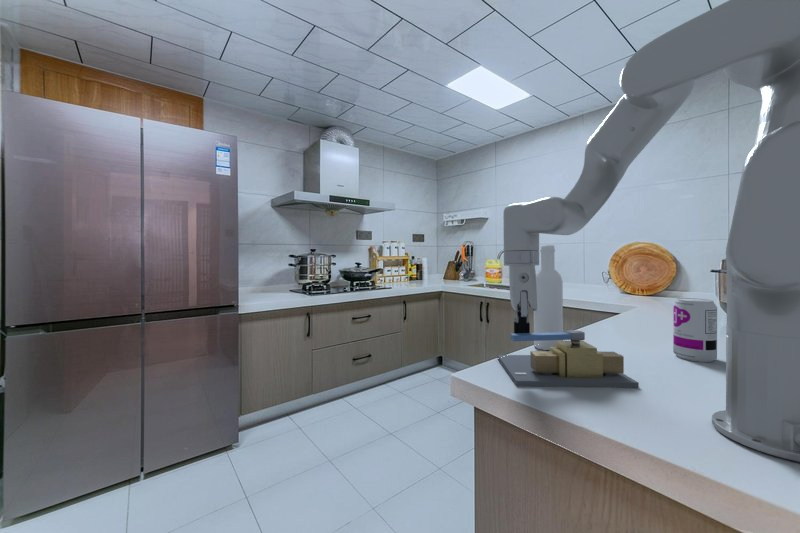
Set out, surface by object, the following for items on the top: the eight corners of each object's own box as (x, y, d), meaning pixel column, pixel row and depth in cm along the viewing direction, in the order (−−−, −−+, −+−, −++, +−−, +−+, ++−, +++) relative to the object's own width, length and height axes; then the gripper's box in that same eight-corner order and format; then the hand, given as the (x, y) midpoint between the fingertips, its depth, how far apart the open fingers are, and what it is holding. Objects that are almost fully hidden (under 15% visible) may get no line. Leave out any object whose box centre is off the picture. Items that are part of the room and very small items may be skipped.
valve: (627, 383, 66) (627, 343, 66) (537, 382, 68) (537, 343, 68) (610, 373, 72) (610, 336, 72) (529, 372, 74) (528, 336, 74)
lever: (578, 336, 72) (578, 330, 72) (588, 340, 68) (588, 333, 68) (509, 338, 71) (509, 331, 71) (515, 342, 68) (515, 335, 68)
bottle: (560, 344, 96) (560, 245, 96) (566, 352, 89) (565, 244, 88) (532, 343, 99) (531, 246, 98) (535, 350, 91) (534, 245, 90)
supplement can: (684, 361, 79) (684, 301, 79) (667, 352, 87) (667, 297, 87) (725, 364, 77) (725, 302, 77) (703, 354, 85) (704, 298, 84)
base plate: (638, 387, 64) (638, 381, 64) (516, 385, 66) (516, 380, 66) (592, 359, 82) (592, 354, 82) (497, 358, 84) (497, 354, 84)
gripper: (545, 259, 64) (545, 349, 64) (534, 258, 78) (534, 332, 79) (505, 259, 66) (506, 347, 66) (502, 259, 80) (502, 331, 81)
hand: (521, 339), depth 73 cm, fingers closed
